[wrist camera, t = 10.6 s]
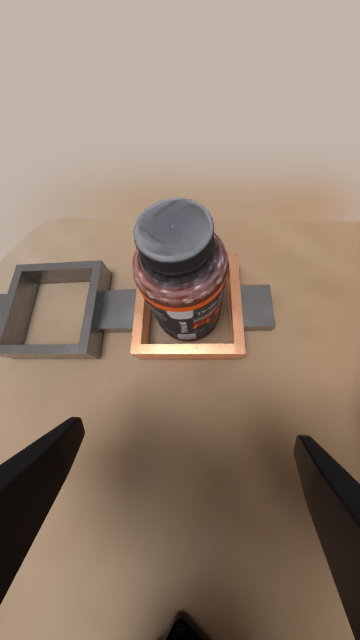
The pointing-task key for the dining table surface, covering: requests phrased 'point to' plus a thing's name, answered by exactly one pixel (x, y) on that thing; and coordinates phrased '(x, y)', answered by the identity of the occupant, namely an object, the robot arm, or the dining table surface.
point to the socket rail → (122, 315)
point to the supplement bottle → (180, 267)
